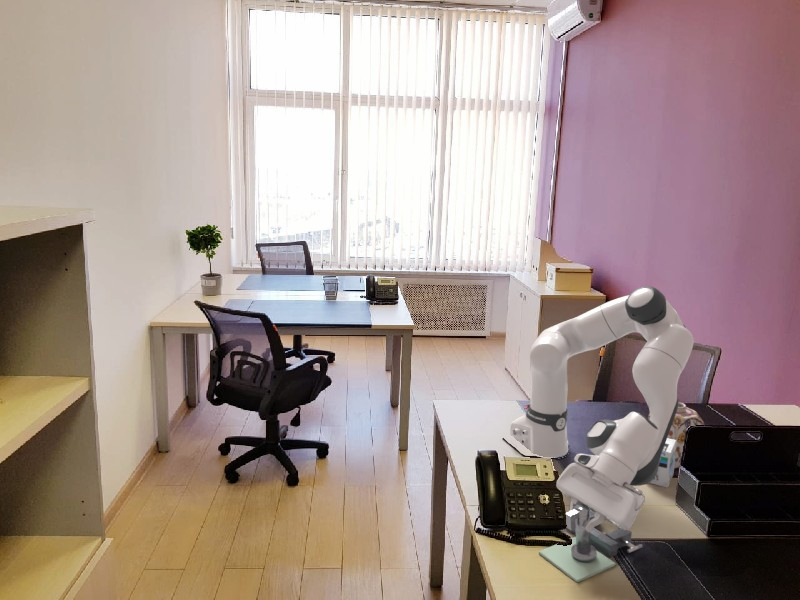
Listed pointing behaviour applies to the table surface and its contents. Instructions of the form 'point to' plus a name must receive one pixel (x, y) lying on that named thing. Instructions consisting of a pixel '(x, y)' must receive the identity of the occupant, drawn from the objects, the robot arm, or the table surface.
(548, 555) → the mat
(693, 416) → the decorative jar
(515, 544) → the table surface
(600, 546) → the vise
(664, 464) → the light bulb box
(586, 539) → the grey tall rounded piece
